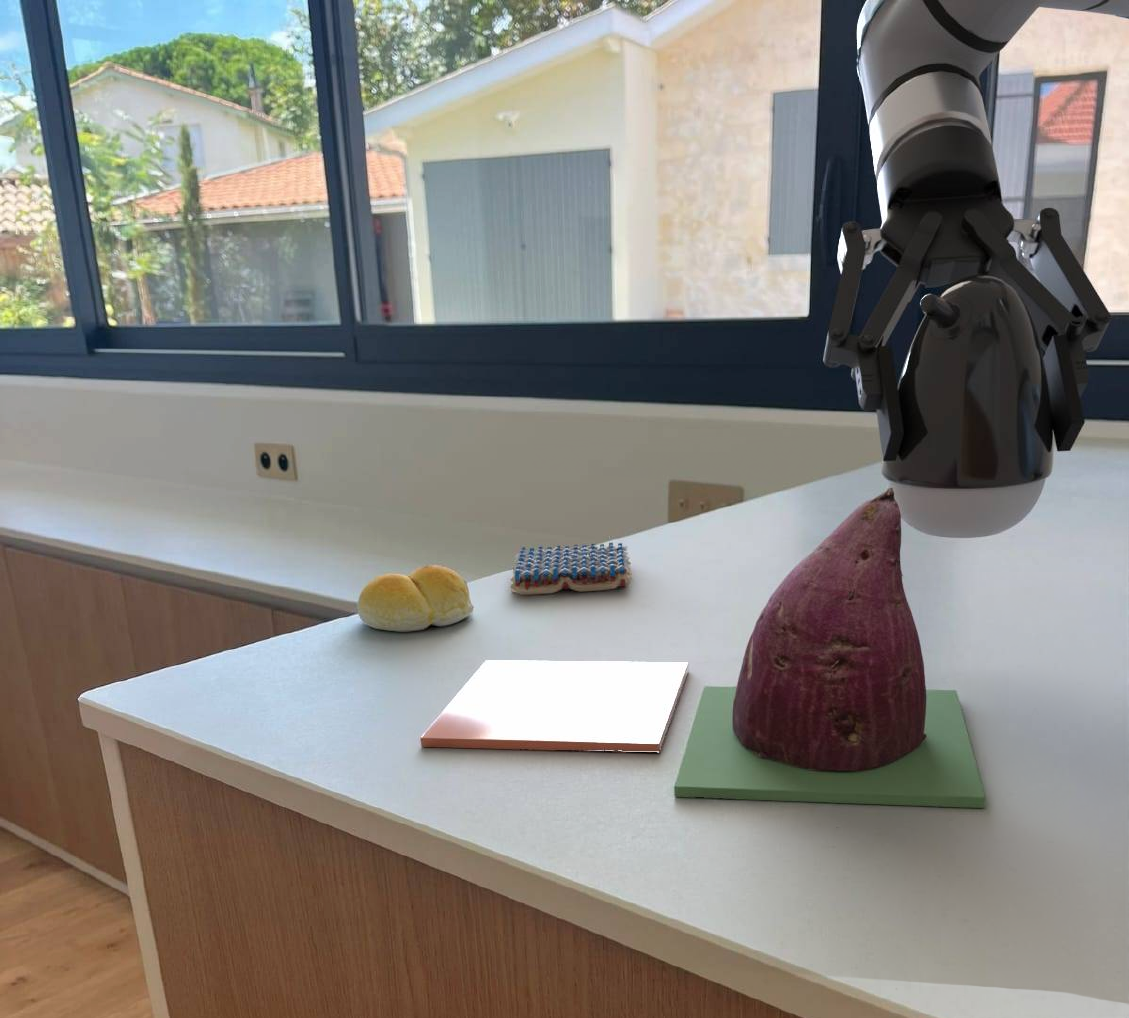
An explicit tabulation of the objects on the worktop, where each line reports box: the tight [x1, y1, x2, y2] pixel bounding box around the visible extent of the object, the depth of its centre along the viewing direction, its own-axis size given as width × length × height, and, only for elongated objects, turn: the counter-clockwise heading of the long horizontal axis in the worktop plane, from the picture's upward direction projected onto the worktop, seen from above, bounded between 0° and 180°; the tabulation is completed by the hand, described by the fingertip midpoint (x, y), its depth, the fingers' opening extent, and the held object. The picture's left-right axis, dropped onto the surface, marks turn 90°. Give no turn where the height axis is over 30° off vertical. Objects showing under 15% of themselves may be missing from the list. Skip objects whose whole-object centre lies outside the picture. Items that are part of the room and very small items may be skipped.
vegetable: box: [732, 487, 927, 772], centre depth 61 cm, size 10×10×15 cm
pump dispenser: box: [880, 274, 1055, 539], centre depth 71 cm, size 10×10×15 cm
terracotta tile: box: [419, 660, 690, 752], centre depth 71 cm, size 14×14×1 cm
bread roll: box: [356, 564, 475, 633], centre depth 91 cm, size 8×9×4 cm
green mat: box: [673, 685, 986, 809], centre depth 64 cm, size 15×15×1 cm
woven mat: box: [508, 542, 633, 596], centre depth 100 cm, size 10×11×2 cm
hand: (981, 442), depth 69 cm, fingers closed on pump dispenser, 10 cm apart
